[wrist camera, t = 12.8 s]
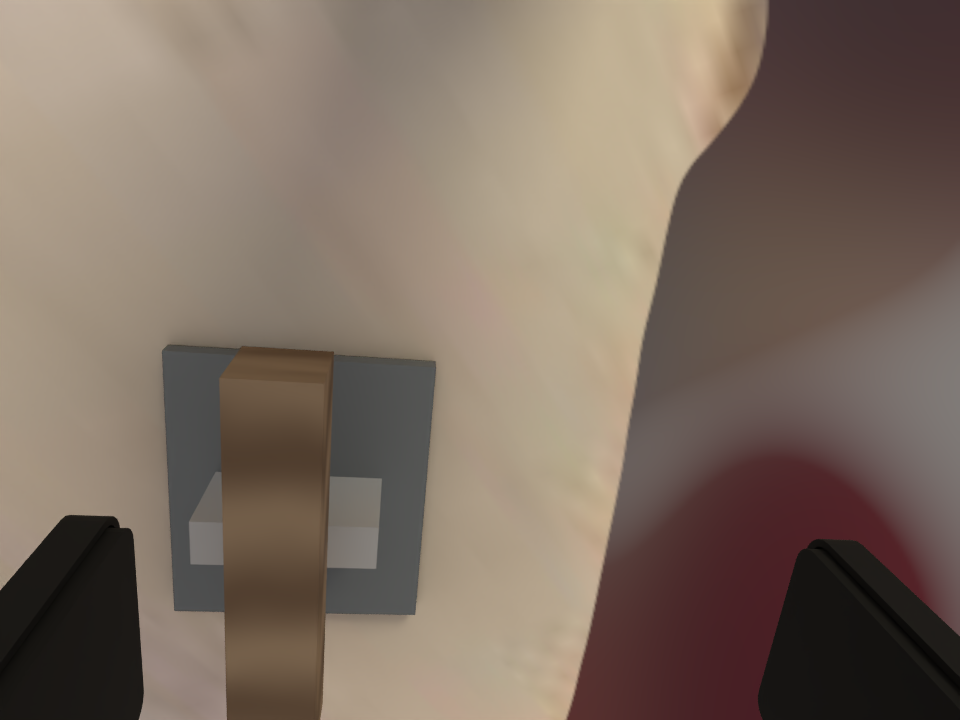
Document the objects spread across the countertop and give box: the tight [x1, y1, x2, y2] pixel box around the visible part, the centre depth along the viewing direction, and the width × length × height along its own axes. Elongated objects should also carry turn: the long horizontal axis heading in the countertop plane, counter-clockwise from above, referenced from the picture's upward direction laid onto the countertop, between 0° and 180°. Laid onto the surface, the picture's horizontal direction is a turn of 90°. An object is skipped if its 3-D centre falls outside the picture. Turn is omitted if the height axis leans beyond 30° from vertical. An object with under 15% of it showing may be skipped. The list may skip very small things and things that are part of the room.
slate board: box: [162, 345, 436, 615], centre depth 37 cm, size 16×14×6 cm
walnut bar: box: [219, 346, 334, 720], centre depth 33 cm, size 20×4×4 cm, turn 174°
